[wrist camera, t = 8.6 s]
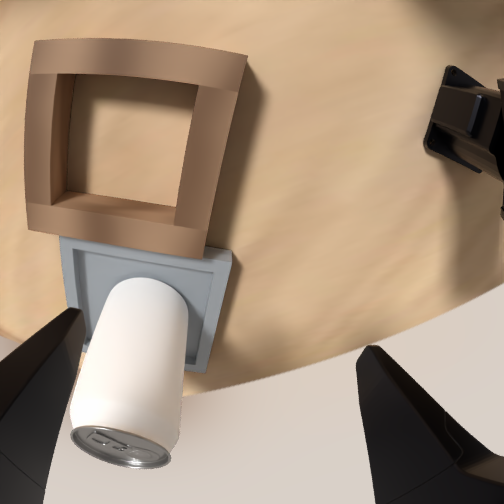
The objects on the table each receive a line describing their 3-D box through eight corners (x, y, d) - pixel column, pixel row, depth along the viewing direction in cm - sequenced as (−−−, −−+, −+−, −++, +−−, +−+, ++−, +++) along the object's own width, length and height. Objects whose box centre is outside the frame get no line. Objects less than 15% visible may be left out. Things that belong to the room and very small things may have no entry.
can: (161, 347, 26) (145, 477, 16) (96, 309, 23) (51, 441, 13) (206, 304, 24) (203, 455, 14) (133, 257, 21) (82, 409, 11)
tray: (231, 250, 22) (232, 262, 21) (205, 360, 28) (205, 373, 27) (67, 223, 20) (59, 233, 19) (80, 338, 26) (76, 350, 25)
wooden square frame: (245, 58, 16) (248, 55, 14) (204, 239, 22) (202, 259, 19) (54, 41, 13) (34, 40, 11) (44, 213, 19) (28, 229, 17)
